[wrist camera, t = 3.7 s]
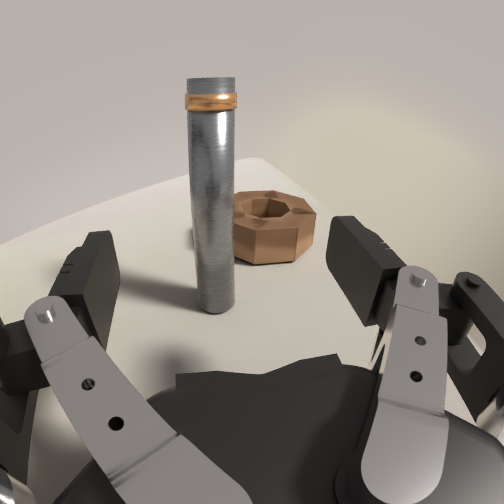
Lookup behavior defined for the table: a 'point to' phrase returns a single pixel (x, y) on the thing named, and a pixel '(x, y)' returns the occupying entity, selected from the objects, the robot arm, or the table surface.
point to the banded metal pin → (212, 187)
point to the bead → (271, 226)
